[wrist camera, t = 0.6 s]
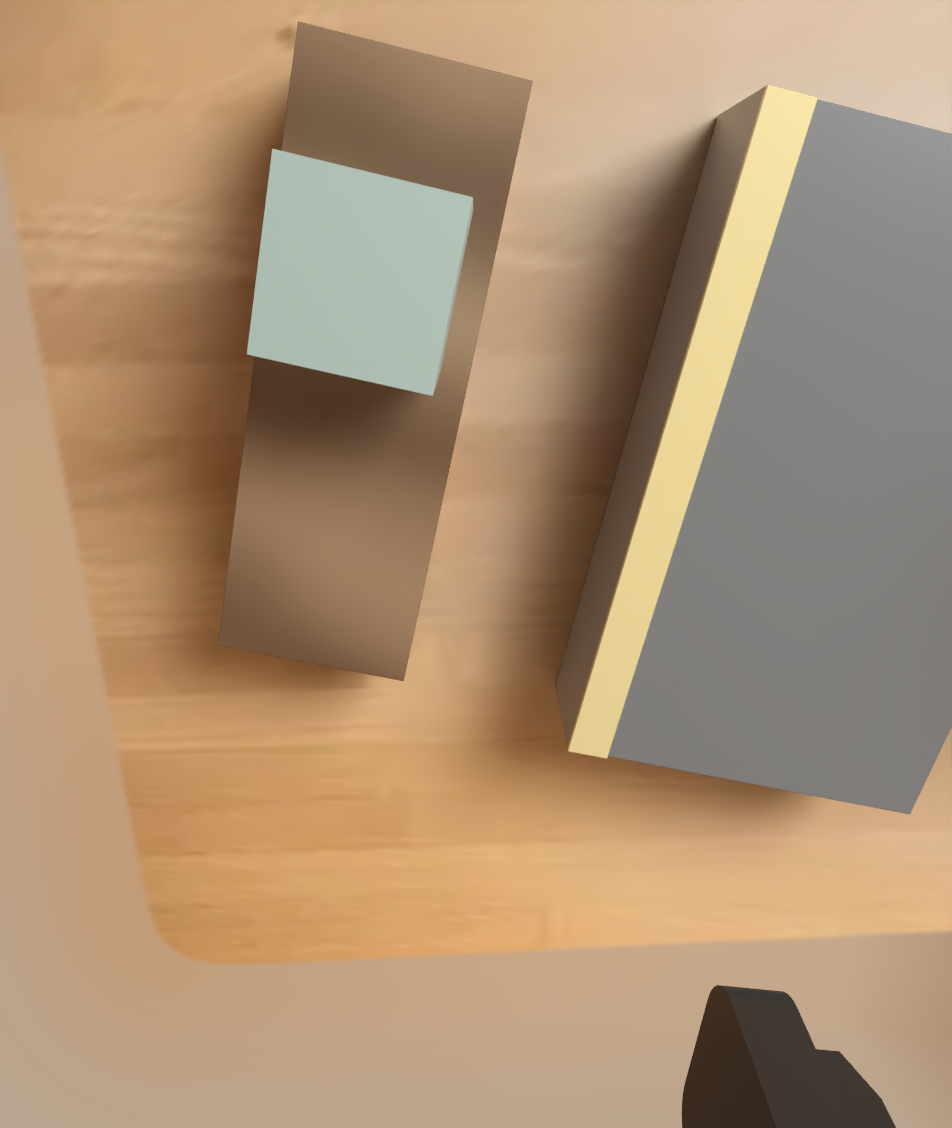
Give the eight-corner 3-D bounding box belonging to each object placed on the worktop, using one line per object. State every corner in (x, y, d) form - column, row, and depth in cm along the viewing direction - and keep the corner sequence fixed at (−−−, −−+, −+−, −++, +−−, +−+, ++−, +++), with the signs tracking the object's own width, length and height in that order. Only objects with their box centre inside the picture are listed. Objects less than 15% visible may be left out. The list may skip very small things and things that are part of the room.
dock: (717, 115, 23) (768, 85, 19) (1086, 209, 24) (1207, 199, 20) (555, 685, 29) (568, 751, 25) (854, 744, 30) (912, 817, 26)
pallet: (327, 61, 23) (297, 21, 19) (523, 111, 23) (532, 80, 19) (252, 593, 28) (217, 645, 24) (413, 626, 28) (403, 681, 25)
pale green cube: (310, 169, 20) (272, 148, 16) (473, 209, 20) (472, 197, 16) (287, 338, 21) (246, 354, 17) (440, 372, 22) (432, 396, 18)
